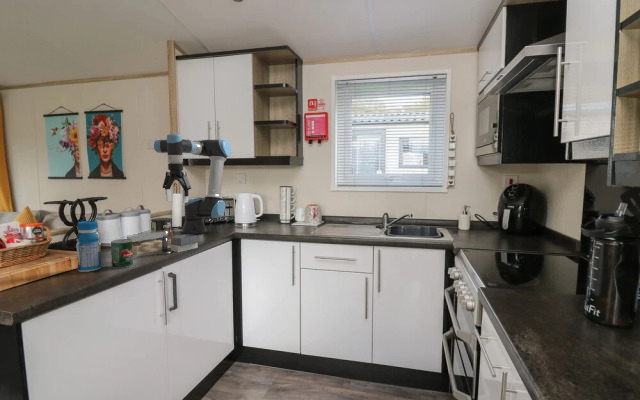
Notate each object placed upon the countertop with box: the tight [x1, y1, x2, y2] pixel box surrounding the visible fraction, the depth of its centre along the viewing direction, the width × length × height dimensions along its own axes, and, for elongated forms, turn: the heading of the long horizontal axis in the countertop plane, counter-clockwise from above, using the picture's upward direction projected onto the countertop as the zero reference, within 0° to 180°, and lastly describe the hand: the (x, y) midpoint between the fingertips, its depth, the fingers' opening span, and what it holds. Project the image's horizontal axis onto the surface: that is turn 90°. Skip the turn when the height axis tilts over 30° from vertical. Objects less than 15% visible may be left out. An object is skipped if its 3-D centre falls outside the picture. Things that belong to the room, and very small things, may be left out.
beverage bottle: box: [75, 220, 102, 273], centre depth 134 cm, size 8×8×20 cm
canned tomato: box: [110, 238, 134, 269], centre depth 140 cm, size 8×8×11 cm
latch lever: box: [126, 231, 168, 243], centre depth 155 cm, size 19×3×2 cm, turn 143°
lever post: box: [158, 237, 173, 256], centre depth 162 cm, size 6×6×8 cm
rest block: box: [170, 241, 199, 253], centre depth 171 cm, size 12×6×3 cm, turn 150°
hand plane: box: [132, 231, 174, 256], centre depth 169 cm, size 22×6×8 cm, turn 150°
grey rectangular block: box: [171, 233, 198, 246], centre depth 171 cm, size 10×8×4 cm
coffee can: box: [150, 217, 172, 241], centre depth 185 cm, size 10×10×14 cm
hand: (177, 201), depth 179 cm, fingers open, 13 cm apart
